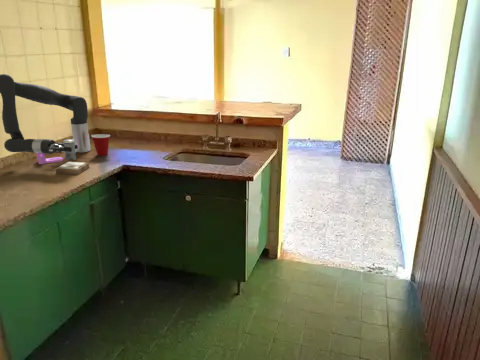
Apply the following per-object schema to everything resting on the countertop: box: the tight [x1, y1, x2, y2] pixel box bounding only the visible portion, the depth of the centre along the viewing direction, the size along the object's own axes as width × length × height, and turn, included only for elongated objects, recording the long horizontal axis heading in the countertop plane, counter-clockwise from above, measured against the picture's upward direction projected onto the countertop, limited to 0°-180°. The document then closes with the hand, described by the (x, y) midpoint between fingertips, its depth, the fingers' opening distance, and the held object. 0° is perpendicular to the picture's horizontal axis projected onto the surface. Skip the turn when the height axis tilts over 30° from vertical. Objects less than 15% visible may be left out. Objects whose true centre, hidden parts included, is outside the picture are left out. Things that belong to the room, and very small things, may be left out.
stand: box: [55, 161, 90, 175], centre depth 218 cm, size 12×12×3 cm
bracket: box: [36, 153, 64, 165], centre depth 232 cm, size 13×6×7 cm, turn 119°
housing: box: [62, 138, 77, 161], centre depth 215 cm, size 5×5×10 cm
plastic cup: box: [90, 133, 111, 157], centre depth 246 cm, size 11×11×12 cm
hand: (74, 148), depth 214 cm, fingers closed on housing, 5 cm apart
